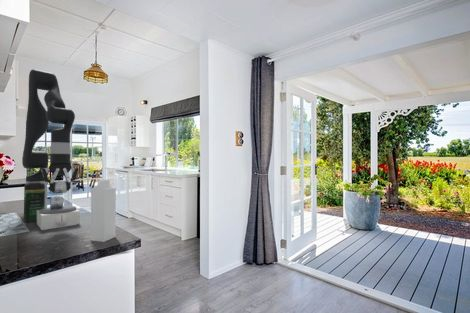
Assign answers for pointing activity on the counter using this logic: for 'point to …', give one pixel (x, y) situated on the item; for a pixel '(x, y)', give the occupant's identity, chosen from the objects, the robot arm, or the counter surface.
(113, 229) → the milk
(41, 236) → the counter surface
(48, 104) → the robot arm
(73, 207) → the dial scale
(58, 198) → the steel spacer
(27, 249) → the counter surface
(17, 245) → the counter surface
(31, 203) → the coffee jar
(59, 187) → the cylinder
